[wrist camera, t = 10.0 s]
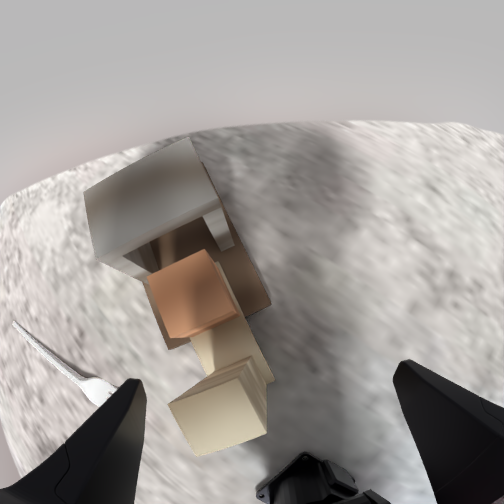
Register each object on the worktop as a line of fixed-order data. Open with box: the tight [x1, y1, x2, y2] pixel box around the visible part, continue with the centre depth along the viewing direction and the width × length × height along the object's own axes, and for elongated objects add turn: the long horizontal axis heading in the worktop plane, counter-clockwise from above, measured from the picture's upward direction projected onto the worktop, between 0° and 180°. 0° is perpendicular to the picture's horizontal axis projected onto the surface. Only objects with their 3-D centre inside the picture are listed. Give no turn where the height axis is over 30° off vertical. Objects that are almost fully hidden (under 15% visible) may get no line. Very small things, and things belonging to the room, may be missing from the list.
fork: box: [12, 320, 118, 407], centre depth 21 cm, size 3×20×2 cm, turn 70°
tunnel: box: [83, 136, 271, 350], centre depth 19 cm, size 14×9×9 cm, turn 25°
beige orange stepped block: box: [147, 249, 275, 457], centre depth 15 cm, size 10×4×11 cm, turn 25°
